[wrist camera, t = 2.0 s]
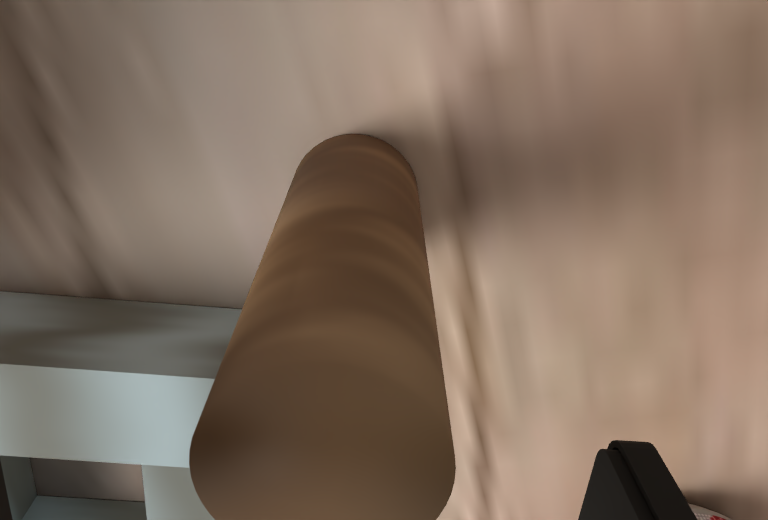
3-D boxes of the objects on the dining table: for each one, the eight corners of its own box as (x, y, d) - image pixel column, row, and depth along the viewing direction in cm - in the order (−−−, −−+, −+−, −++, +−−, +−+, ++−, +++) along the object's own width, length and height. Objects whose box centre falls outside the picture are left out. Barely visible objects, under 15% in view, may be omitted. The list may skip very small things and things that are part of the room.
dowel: (424, 139, 20) (473, 373, 9) (411, 256, 21) (437, 571, 11) (293, 128, 20) (182, 352, 9) (290, 247, 21) (195, 556, 10)
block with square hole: (274, 311, 22) (253, 381, 19) (270, 568, 28) (254, 660, 24) (-109, 282, 22) (-207, 349, 18) (-34, 550, 28) (-97, 641, 24)
